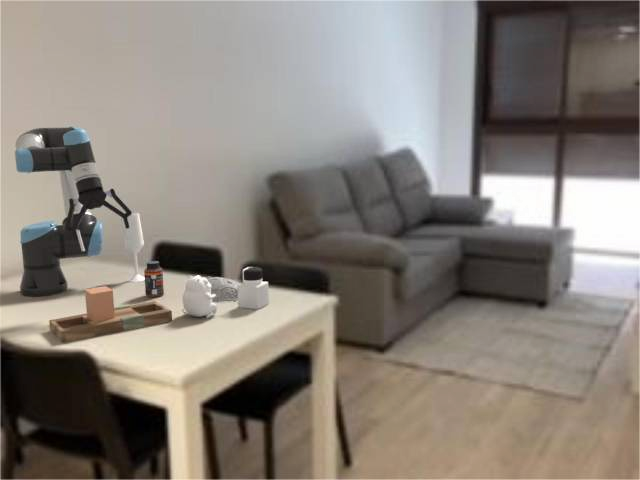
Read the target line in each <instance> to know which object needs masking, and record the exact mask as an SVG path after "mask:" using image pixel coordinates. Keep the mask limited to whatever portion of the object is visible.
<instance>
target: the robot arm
mask: <svg viewBox="0 0 640 480" xmlns="http://www.w3.org/2000/svg"><path fill="white" fill-rule="evenodd" d="M14 158H15V167H16V171H17V172H18V173H20V174H21V173H25V174H26V173H27V174H31V173H40V172H59V178H60V186H61V192H62V200H63V207H64V211H65V212H64V213H65V217H64V218H63V219H62V222H61V224H59V225H58V223H57V222H56V221H54V220H51V221H42V222H36V223H32V224H29V225H27V226H24V227H23V228H22V229H20V233H19V235H20V241H19V242H20V243H19V244H21V253H22V266H23V272H22V273H23V274H22V277H21V281H20V285H19V292H20V295H23V296H27V297H41V296H51V295H56V294H60V293H62V292H65V291H66V290H68V281H67V279H66V276H65V273H64V271H63V270H62V268H61V260H64V259H75V258H84V257H85V258H86V257H87V258H89V257H92V256H99V255H100V254H101V253H102V250H103V223H102V221H98V219H97V217H96V215H94V214H92V211H91V210H95V209H100V208H102V206H104V207H105V208H107V209H108V210H110V211H112V212H113V213H115V214H116V215H117V216H119V217H120V221H121V226H122V228H123V231H124V237H125V236H126V239H127V240H129V237H128V233H127V230H126V229H128V228H129V223H128V219H127V218H128V217H129V216H130V215H132V213H133V211H132V210H131V209H130V208H129V207H128V206H127V204H125V203H124V202H123V201H122V200H121V198H120V197H118V196H117V194H116V191H115V189H114V188H111V189H109V190H108V191H107V190H106V191H105V190H104V187H103V184H102V180H101V178H100V177H99V176H100V173H99V169H98V166H97V163H96V159H95V155H94V152H93V149H92V145H91V139H90V137H89V134H88V132H87V130H85V129H83V128H82V127H79V126H77V127H76V126H68V127H37V128H34V129H33V128H32V129H30V130H27V131H25V132H23V133H22V134H20V135H19V136H18V137H17V139H16V142H15V151H14ZM107 196H109V197H110V198H112V199H113V200H114V201H115V202H116V203H117V204H118V205H119V206H120V207H121V208H122V209H123V211H124V212H125V213H124V212H123V211H122V210H120V209H119V208H117V207H116V206H114V205H112V204H111V203H110V202H108V201H107V200H106V198H107Z"/></svg>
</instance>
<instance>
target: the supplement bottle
mask: <svg viewBox="0 0 640 480" xmlns="http://www.w3.org/2000/svg"><path fill="white" fill-rule="evenodd" d="M143 271H144V276H143V277H145V280H144V285H145V287H144V288H145V289H144V292H145V296H146V297H149V298H158V297H162V296H163V295H164V294H165V293H164V291H165V290H164V272H163V268H162V267H161V266H160V262H159V261H157V260H151V261H147V262H146V268H145V269H144V270H143Z"/></svg>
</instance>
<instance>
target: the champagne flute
mask: <svg viewBox="0 0 640 480" xmlns="http://www.w3.org/2000/svg"><path fill="white" fill-rule="evenodd" d="M140 216H141V215H140V213H139V212H132V215H130V216H129V217H128V218H127V219H128V223H129V228H128V229H126V230H127V233H128V237H129V240H127V239H126V236H125V235H124V247H125V248H126V249H127V251H129V252H130V253H132V254H133V264H134V265H133V266H134V267H133V268H134V275H132V276H131V277H129V278H128V279H127V281H128V282H132V283H137V282H143V281H144V282H145V276H142V275H141V274H139V266H138V253H140V251H142V249H143V247H144V245H145V241H144V234H143V230H142V224H141V218H140Z"/></svg>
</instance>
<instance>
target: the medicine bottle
mask: <svg viewBox="0 0 640 480" xmlns="http://www.w3.org/2000/svg"><path fill="white" fill-rule="evenodd" d="M263 280H264V279H263V269H262V267H258V266H247V267H246V268H243V269H242V283H240V284H239V285H238V286H237V289H238V296H237V297H238V302H237V306H238V308H241V309H249V310H250V309H251V310H259V309H261V308H264V307H265V306H267V305H268V304H270V300H269V297H270V296H269V295H270V293H269V281H263Z"/></svg>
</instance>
